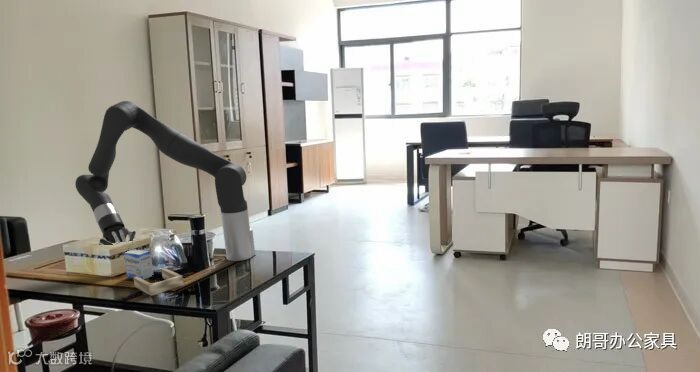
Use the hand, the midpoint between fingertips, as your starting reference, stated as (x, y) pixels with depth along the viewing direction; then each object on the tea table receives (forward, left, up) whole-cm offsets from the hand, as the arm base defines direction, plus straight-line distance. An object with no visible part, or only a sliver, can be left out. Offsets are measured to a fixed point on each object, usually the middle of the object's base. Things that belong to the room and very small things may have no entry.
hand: (127, 258), depth 181 cm
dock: (0, +23, -5) cm, 23 cm away
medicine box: (0, +9, -5) cm, 10 cm away
